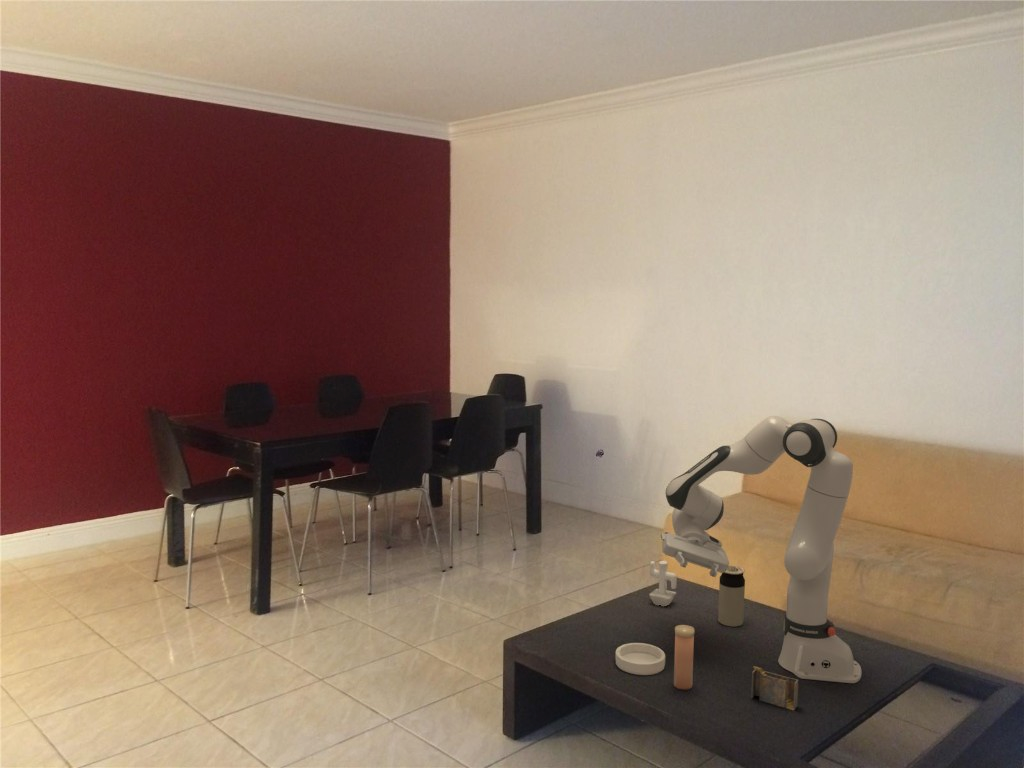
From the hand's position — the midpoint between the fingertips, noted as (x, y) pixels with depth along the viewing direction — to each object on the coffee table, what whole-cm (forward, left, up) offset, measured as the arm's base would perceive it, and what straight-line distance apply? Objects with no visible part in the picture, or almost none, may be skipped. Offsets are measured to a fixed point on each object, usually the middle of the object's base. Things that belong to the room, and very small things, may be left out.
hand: (699, 570), depth 239 cm
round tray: (+15, +8, -28) cm, 32 cm away
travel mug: (-5, -33, -28) cm, 44 cm away
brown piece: (-23, +16, -28) cm, 40 cm away
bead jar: (+1, +16, -28) cm, 32 cm away
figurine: (+19, -40, -28) cm, 53 cm away
